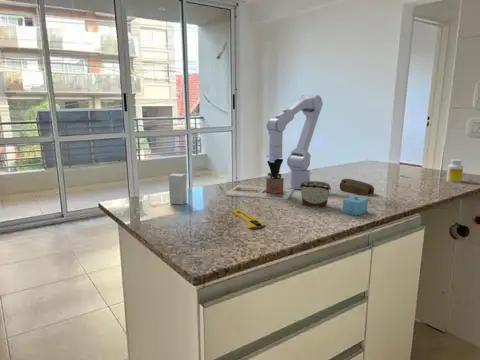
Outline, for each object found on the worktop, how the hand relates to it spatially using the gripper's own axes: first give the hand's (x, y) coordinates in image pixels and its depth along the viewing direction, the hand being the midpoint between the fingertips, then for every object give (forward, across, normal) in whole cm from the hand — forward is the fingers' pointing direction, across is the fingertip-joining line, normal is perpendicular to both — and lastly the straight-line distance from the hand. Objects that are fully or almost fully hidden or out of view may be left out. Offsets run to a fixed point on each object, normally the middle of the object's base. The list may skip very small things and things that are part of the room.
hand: (275, 176), depth 164 cm
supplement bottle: (+9, -46, +81) cm, 93 cm away
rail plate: (+8, 0, -6) cm, 11 cm away
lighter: (+9, 0, 0) cm, 9 cm away
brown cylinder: (+9, -11, +35) cm, 38 cm away
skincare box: (+9, +26, -35) cm, 44 cm away
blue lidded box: (+9, +22, +35) cm, 42 cm away
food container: (+9, +14, +20) cm, 26 cm away
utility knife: (+9, +40, -1) cm, 41 cm away
